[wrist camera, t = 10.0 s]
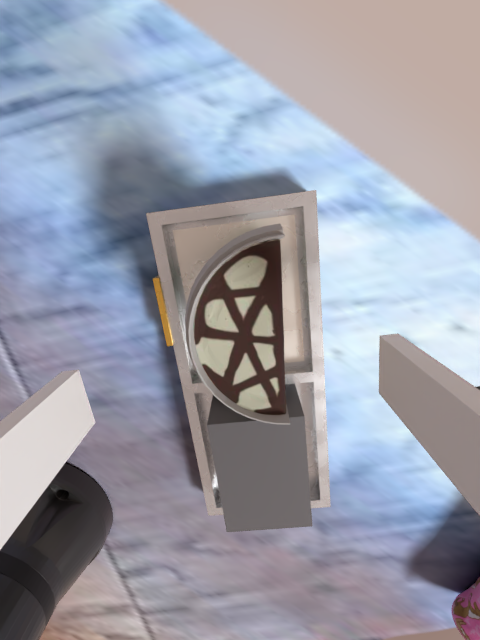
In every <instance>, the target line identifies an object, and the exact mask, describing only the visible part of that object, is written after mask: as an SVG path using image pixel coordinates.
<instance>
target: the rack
mask: <svg viewBox="0 0 480 640" xmlns="http://www.w3.org/2000/svg"><path fill="white" fill-rule="evenodd" d="M146 216H147V221H148V225H149V230H150V235H151V240H152V245H153V250H154V254H155V259H156V264H157V269H158V274H159V275H158V276H156V277H155V278H153V283H154V288H155V292H156V297H157V302H158V306H159V311H160V316H161V320H162V325H163V330H164V334H165V339H166V344H167V346H174V351H175V356H176V361H177V365H178V370H179V375H180V380H181V385H182V390H183V394H184V399H185V404H186V409H187V414H188V419H189V423H190V428H191V433H192V438H193V443H194V448H195V452H196V457H197V462H198V467H199V472H200V477H201V481H202V486H203V491H204V496H205V501H206V506H207V510H208V515H209V516H211V515H224V514H223V509H222V503H221V498H220V493H219V487H218V482H217V477H216V471H215V466H214V460H213V455H212V450H211V444H210V439H209V434H208V428H207V422H208V417H209V412H210V407H211V402H212V397H213V394H212V393H211V391H210V390H209V389H208V388H207V387H206V386H205V384H204V383H203V382H202V380H201V378H200V377H199V375H198V373H197V372H196V370H195V368H194V366H193V363H192V361H191V358H190V356H189V352H188V347H187V342H186V328H185V315H186V306H187V301H188V298H189V294H190V291H191V288H192V286H193V284H194V282H195V280H196V278H197V276H198V274H199V273H200V271H201V270H202V268H203V267H204V265H205V264H206V262H207V261H208V260H209V259H210V258H211V257H212V256H213V255H214V254H215V253H216V252H217V251H218V250H219V249H220V248H222V247H223V246H224V245H226V244H227V243H228V242H230V241H231V240H233V239H235V238H236V237H238V236H240V235H242V234H244V233H246V232H248V231H251V230H254V229H257V228H260V227H263V226H268V225H274V224H281V226H282V228H283V234H284V235H285V237H283V238H282V239H280V245H281V268H282V299H283V326H284V363H285V386H286V385H295V386H296V389H297V392H298V396H299V399H300V403H301V406H302V409H303V413H304V416H305V430H306V444H307V458H308V473H309V487H310V501H311V508H321V507H330V487H329V465H328V443H327V420H326V398H325V376H324V354H323V331H322V309H321V287H320V264H319V242H318V220H317V198H316V190H313V191H306V192H299V193H291V194H284V195H277V196H269V197H262V198H255V199H247V200H240V201H233V202H225V203H218V204H210V205H203V206H196V207H188V208H181V209H174V210H166V211H159V212H152V213H146Z"/></svg>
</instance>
